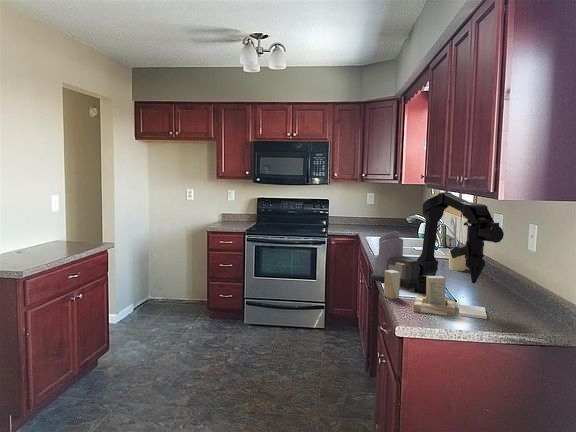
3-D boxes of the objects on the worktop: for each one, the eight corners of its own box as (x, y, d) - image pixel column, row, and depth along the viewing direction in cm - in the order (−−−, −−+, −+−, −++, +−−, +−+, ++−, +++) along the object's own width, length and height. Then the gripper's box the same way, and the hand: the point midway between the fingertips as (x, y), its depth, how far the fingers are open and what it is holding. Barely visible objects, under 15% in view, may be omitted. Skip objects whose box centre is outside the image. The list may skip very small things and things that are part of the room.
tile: (458, 307, 170) (458, 304, 170) (484, 309, 167) (484, 307, 167) (458, 315, 159) (459, 313, 159) (486, 318, 156) (486, 316, 156)
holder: (416, 302, 176) (417, 295, 176) (454, 306, 171) (454, 299, 171) (413, 311, 163) (413, 304, 163) (454, 316, 158) (454, 309, 158)
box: (383, 296, 184) (384, 270, 183) (391, 295, 186) (392, 269, 185) (391, 299, 179) (391, 272, 179) (399, 298, 181) (400, 271, 180)
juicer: (362, 278, 220) (364, 229, 218) (388, 275, 227) (390, 228, 225) (403, 292, 193) (405, 236, 192) (431, 288, 200) (433, 234, 199)
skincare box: (442, 307, 169) (443, 275, 168) (445, 310, 165) (446, 278, 164) (424, 306, 170) (426, 275, 169) (427, 310, 165) (428, 277, 165)
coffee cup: (458, 270, 245) (459, 248, 244) (470, 273, 236) (471, 251, 235) (444, 271, 242) (444, 249, 241) (455, 274, 233) (456, 251, 233)
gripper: (451, 235, 172) (450, 275, 174) (451, 240, 155) (449, 285, 156) (483, 236, 169) (481, 277, 170) (486, 242, 151) (484, 288, 152)
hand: (473, 281), depth 162 cm, fingers open, 5 cm apart
